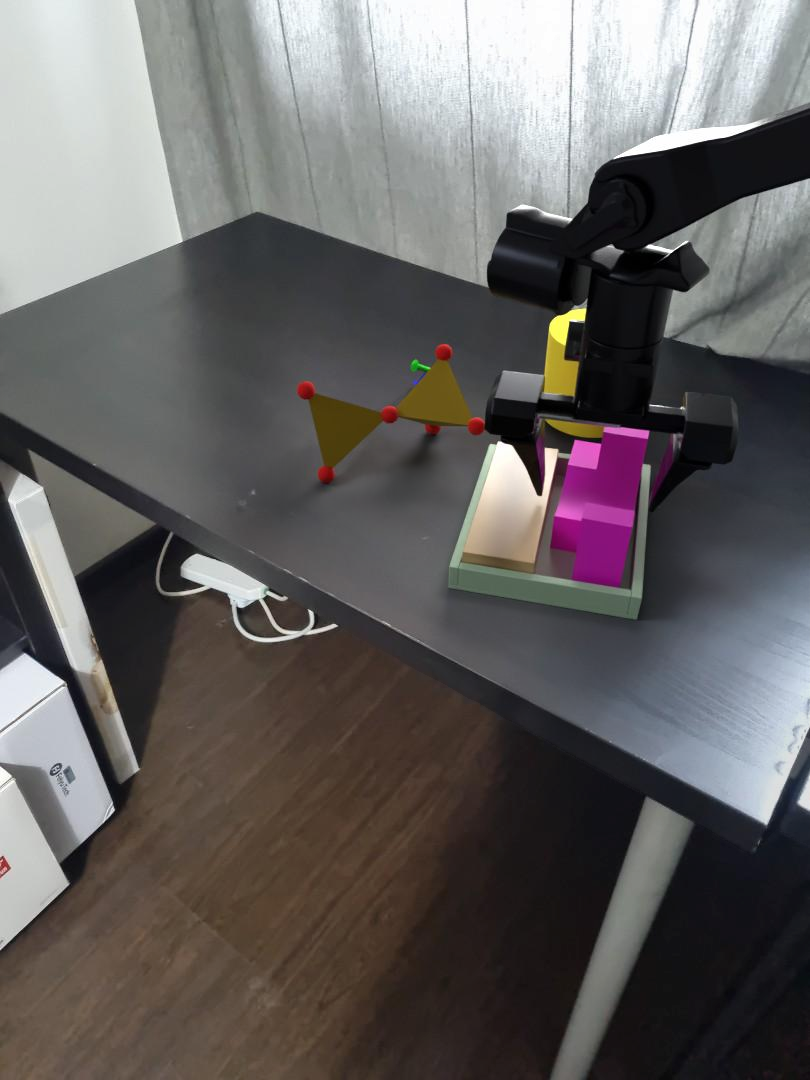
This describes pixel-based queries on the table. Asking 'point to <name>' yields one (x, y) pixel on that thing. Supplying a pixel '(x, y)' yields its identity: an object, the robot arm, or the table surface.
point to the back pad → (510, 514)
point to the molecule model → (389, 412)
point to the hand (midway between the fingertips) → (594, 501)
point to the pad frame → (558, 561)
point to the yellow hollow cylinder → (565, 373)
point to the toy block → (600, 504)
